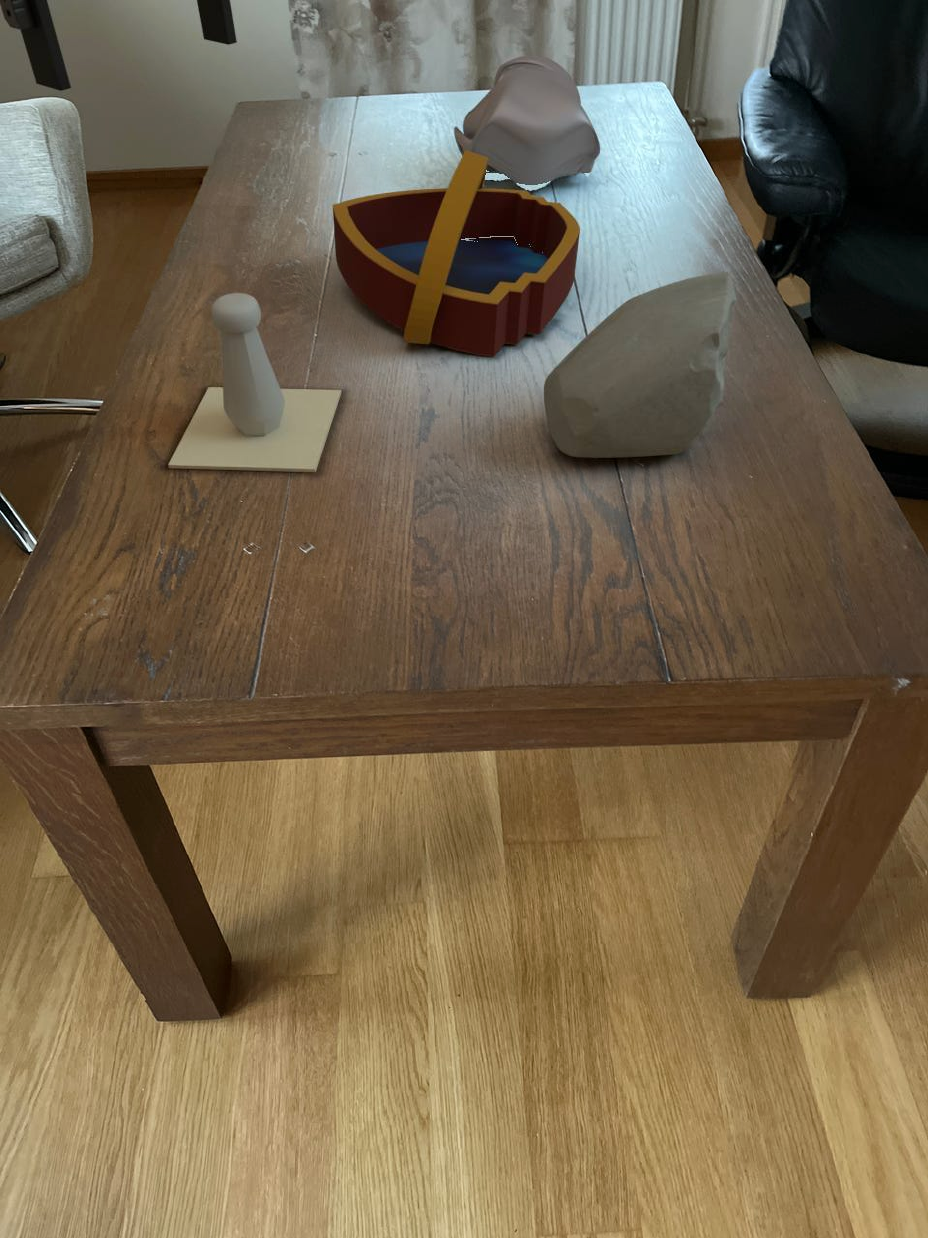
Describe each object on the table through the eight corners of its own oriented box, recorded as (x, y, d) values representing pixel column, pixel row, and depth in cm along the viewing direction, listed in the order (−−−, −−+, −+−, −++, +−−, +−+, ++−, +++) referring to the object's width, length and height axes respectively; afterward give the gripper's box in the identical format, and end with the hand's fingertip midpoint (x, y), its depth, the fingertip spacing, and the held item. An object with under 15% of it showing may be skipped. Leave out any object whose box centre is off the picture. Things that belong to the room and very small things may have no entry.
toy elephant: (458, 213, 135) (464, 107, 123) (449, 146, 145) (453, 42, 133) (596, 212, 137) (615, 109, 125) (577, 146, 147) (593, 44, 135)
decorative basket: (541, 390, 102) (570, 254, 91) (283, 329, 104) (282, 189, 93) (583, 262, 126) (610, 143, 115) (373, 214, 128) (380, 93, 117)
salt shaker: (283, 441, 91) (259, 314, 82) (224, 442, 91) (194, 315, 82) (292, 409, 95) (270, 284, 86) (235, 409, 95) (208, 285, 86)
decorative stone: (531, 415, 94) (536, 268, 84) (696, 395, 96) (721, 249, 86) (563, 486, 86) (572, 332, 75) (743, 462, 88) (777, 309, 77)
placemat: (315, 472, 88) (315, 468, 88) (168, 468, 89) (167, 464, 89) (341, 393, 98) (341, 389, 98) (209, 390, 99) (208, 386, 99)
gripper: (-171, -421, 40) (5, 119, 55) (267, -396, 54) (314, 31, 69) (-245, -408, 44) (-61, 97, 59) (183, -387, 58) (245, 17, 72)
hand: (142, 62), depth 64 cm, fingers open, 13 cm apart
